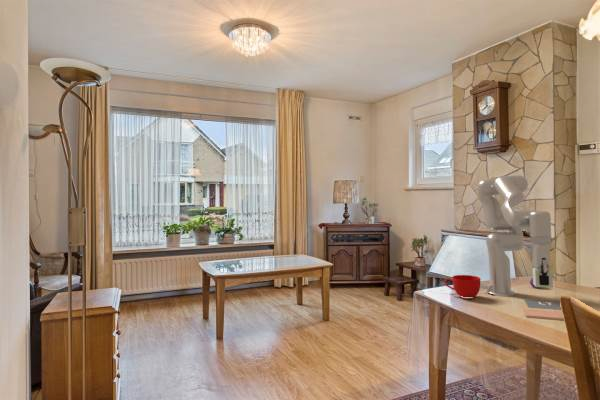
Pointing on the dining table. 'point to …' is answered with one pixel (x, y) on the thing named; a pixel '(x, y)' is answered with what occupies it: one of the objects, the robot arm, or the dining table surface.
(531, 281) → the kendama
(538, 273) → the block
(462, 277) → the ceramic cup
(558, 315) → the set down board
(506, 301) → the dining table surface
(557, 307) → the mat
